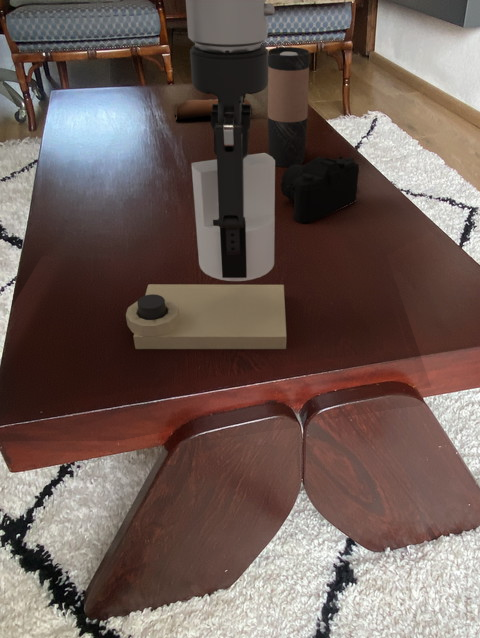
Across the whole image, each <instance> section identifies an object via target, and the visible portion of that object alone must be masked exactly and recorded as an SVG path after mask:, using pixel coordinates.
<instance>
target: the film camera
mask: <svg viewBox="0 0 480 638" xmlns="http://www.w3.org/2000/svg"><path fill="white" fill-rule="evenodd" d="M359 173H360V166H359V163H357V162H356V161H355V158H353V157H345V158H343V156H342V155H339V156H338V157H337V158H336V159H334V158H331V157H327V158H325V157H323V156H321V155H320V156H318V157H315V158H313V159H311V160H310V161H308V162H307V163H306V164H304V165H303V164H301V165H297V164H295V165H291V166H290V167H287V168H286V169H285V171H283V174H282V176H281V182H280V191H281V193H282V195H283V196H284V197H286V198H287V199H288V200H289V201H291V202H293V214H292V216H293V220H294V221H295V222H296V223H299V224H310V223H313V222H315V221H317V220H320V219H322V217H323V218H325V217H327V216H329V215H331V214H330V213H332V212H334V211H336V210H338V209H340V208H342V207H344V206H346V205H349V204H350V203H352V202H354V201H355V200H356V201H357V193H358V181H359ZM356 201H355V202H356ZM349 206H350V205H349ZM336 212H337V211H336ZM334 213H335V212H334ZM328 214H329V215H328ZM332 214H333V213H332ZM326 215H327V216H326ZM324 216H325V217H324Z"/></svg>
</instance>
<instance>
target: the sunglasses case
mask: <svg viewBox="0 0 480 638" xmlns="http://www.w3.org/2000/svg"><path fill="white" fill-rule="evenodd" d="M244 102H245V104H250V105H251V102H250V101H249V100H247V99H245V98H244ZM213 104H218V98H215V99H190V100H189V99H188V100H184V101H183V102H180V103H178V104H177V105H176V109H175V110H176V117H177V120H178V121H180V120H189V119H196V118H202V117H211V111H212V105H213ZM251 115H252V116H253V109H252V107H251Z"/></svg>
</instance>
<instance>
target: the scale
mask: <svg viewBox="0 0 480 638" xmlns="http://www.w3.org/2000/svg"><path fill="white" fill-rule="evenodd" d="M151 294H155V295H160V296H162V297H163V298H164V299H165V306H166V315H165V316H164V317H163V318H160V319H156V320H145V319H142V318H141V317H140V316H139V310H138V304H137V302H138V300H137V301H134V303H133V304H131V305H130V306H128V307H127V310H126V313H125V319H126V325H127V327H128V328H129V330H130V332H132V333H133V343H134V348H135V350H286V349H287V321H286V318H287V317H286V302H285V301H286V300H285V299H286V298H285V284H198V283H197V284H190V283H189V284H185V283H183V284H181V283H180V284H179V283H178V284H175V283H174V284H171V283H169V284H168V283H167V284H164V283H163V284H161V283H159V284H155V283H151V284H149V283H148V285H147V288H146V291H145V295H144V296H146V295H151Z"/></svg>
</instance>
